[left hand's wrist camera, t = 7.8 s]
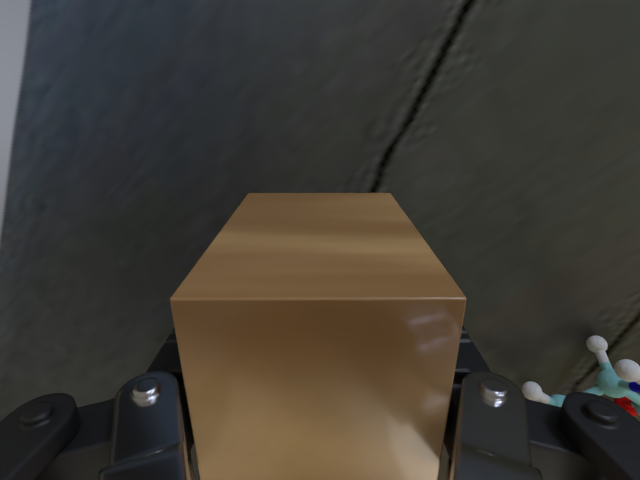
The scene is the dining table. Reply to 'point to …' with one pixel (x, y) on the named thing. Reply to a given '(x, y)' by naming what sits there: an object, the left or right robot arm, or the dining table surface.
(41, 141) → the dining table surface
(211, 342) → the bar
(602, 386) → the molecular model
